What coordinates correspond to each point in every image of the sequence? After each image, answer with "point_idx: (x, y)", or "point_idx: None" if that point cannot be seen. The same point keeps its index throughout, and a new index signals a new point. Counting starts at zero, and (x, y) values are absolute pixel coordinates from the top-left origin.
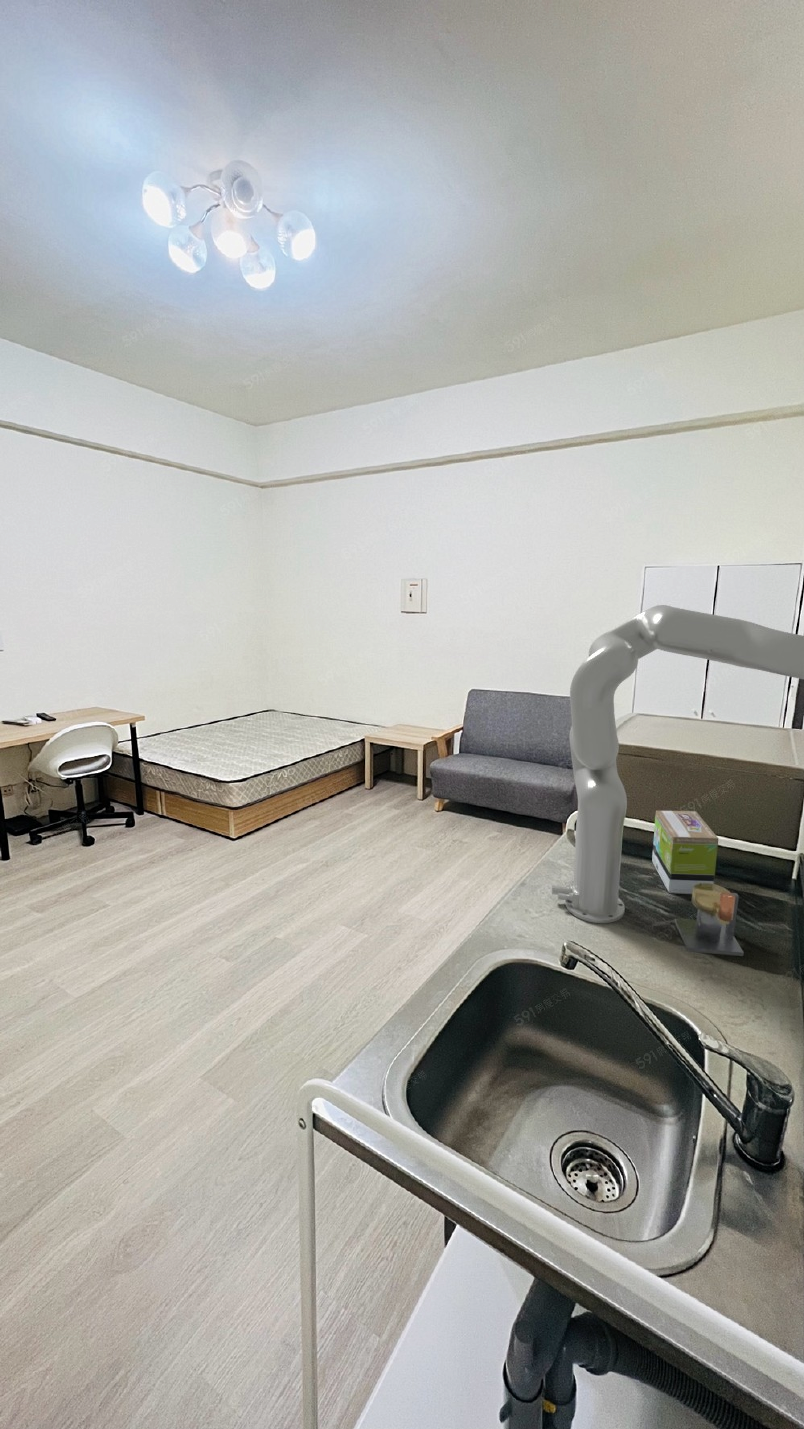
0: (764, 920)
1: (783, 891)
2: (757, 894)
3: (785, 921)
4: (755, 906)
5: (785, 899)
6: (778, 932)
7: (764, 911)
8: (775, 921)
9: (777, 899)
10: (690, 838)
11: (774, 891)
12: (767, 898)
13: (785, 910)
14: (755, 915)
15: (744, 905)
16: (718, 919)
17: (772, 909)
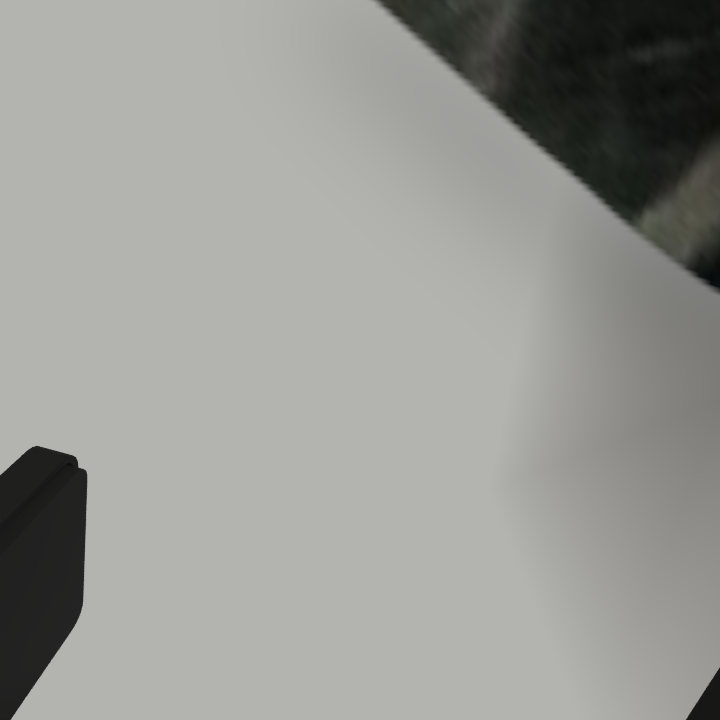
0: (532, 25)
1: (693, 273)
2: (714, 145)
3: (505, 113)
4: (635, 64)
5: (640, 235)
6: (445, 23)
7: (590, 77)
8: (515, 70)
9: (651, 202)
10: None
11: (707, 237)
12: (671, 166)
13: (572, 173)
14: (575, 11)
15: (658, 16)
16: None
17: (593, 124)
